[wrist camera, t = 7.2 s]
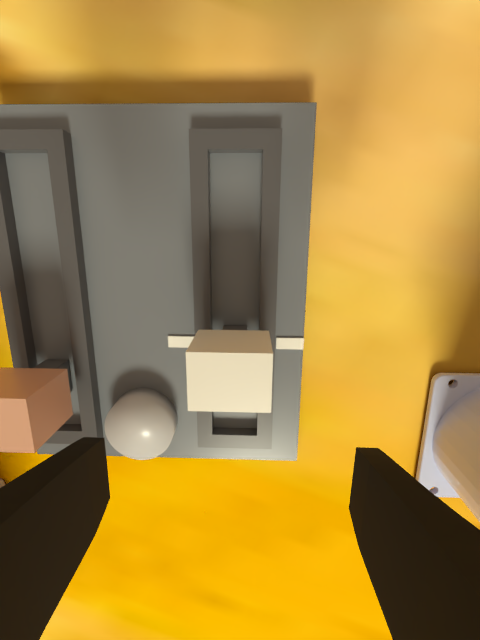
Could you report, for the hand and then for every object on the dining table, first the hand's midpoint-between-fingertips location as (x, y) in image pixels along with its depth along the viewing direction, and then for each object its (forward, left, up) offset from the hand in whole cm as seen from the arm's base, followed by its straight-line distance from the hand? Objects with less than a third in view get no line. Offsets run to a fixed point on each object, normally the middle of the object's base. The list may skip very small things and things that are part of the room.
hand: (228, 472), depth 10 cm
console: (+4, -3, -10) cm, 11 cm away
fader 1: (+10, +1, -8) cm, 13 cm away
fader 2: (0, -1, -8) cm, 8 cm away
